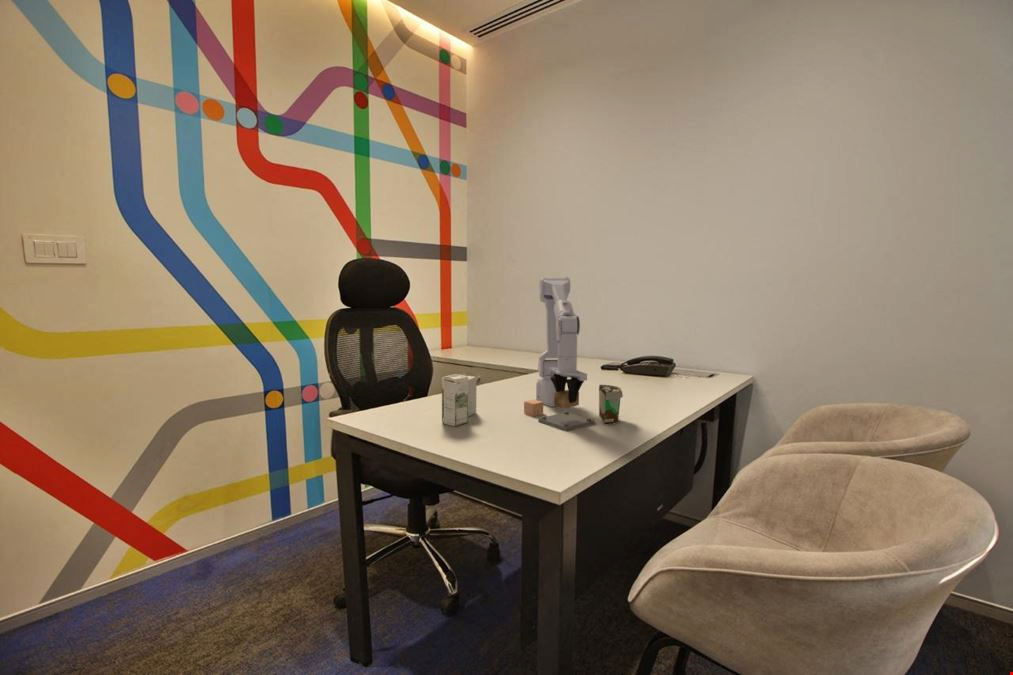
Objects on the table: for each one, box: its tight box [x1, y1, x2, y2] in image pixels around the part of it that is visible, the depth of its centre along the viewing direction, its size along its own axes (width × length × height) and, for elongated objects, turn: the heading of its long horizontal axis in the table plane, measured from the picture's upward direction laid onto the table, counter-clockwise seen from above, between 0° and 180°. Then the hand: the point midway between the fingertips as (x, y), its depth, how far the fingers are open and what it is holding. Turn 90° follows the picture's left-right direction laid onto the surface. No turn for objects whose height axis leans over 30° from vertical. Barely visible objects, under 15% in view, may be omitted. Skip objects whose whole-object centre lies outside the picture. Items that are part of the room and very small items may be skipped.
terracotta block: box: [523, 399, 544, 417], centre depth 158 cm, size 4×4×4 cm
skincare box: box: [466, 375, 477, 418], centre depth 156 cm, size 6×4×12 cm
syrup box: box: [441, 373, 469, 427], centre depth 146 cm, size 6×6×14 cm
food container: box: [598, 384, 624, 425], centre depth 149 cm, size 12×6×10 cm, turn 179°
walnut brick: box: [554, 389, 580, 409], centre depth 147 cm, size 4×6×4 cm
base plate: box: [537, 410, 596, 432], centre depth 147 cm, size 12×12×2 cm
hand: (566, 400), depth 147 cm, fingers closed on walnut brick, 4 cm apart
